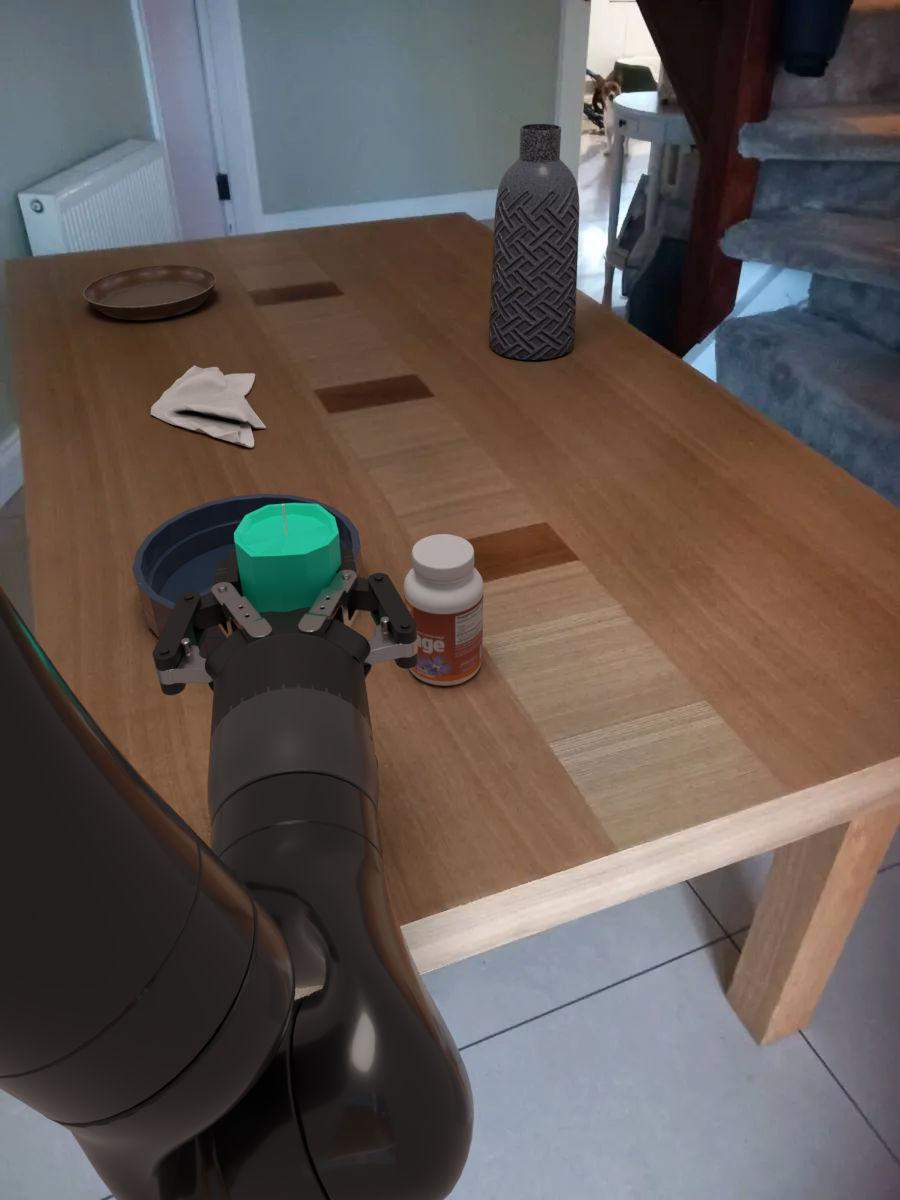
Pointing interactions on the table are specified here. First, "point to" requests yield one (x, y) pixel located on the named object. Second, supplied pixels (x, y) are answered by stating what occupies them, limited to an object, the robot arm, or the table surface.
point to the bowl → (206, 554)
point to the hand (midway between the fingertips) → (285, 558)
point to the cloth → (211, 405)
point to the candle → (286, 555)
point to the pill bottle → (445, 609)
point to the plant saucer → (150, 291)
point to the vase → (535, 251)
